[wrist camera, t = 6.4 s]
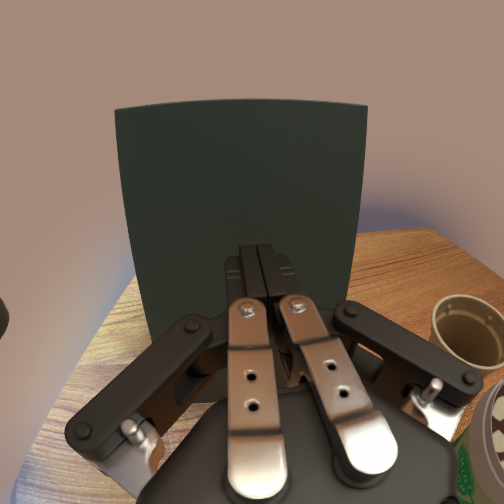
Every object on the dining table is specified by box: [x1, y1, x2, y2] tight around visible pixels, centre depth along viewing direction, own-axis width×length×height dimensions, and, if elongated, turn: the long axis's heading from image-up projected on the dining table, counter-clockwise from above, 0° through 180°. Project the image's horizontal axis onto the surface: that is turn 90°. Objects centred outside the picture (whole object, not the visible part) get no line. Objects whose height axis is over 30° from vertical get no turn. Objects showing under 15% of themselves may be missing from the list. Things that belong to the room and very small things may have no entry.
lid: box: [114, 99, 368, 343], centre depth 19 cm, size 16×14×1 cm
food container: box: [452, 378, 504, 504], centre depth 14 cm, size 12×6×10 cm, turn 9°
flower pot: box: [429, 295, 504, 379], centre depth 25 cm, size 9×9×9 cm
